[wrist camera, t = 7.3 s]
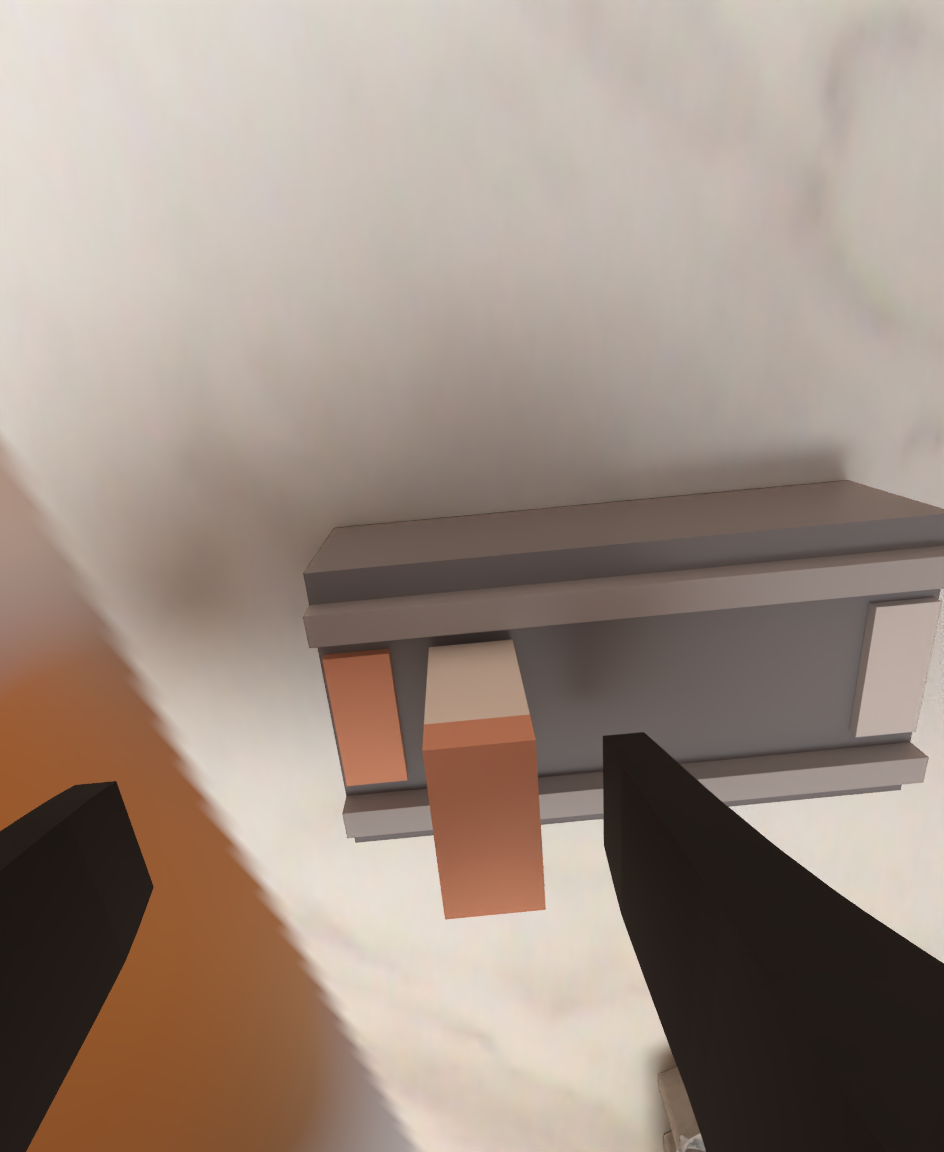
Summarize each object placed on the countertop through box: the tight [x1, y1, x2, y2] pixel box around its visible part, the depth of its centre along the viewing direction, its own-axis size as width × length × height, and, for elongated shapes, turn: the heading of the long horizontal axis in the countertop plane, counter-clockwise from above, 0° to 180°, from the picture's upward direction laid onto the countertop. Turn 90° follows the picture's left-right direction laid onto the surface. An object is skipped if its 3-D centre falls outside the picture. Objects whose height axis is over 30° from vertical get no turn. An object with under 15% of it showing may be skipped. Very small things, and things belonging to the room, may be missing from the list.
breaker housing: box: [303, 480, 944, 843], centre depth 13 cm, size 12×6×4 cm, turn 95°
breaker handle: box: [422, 639, 546, 919], centre depth 10 cm, size 2×3×3 cm, turn 5°
